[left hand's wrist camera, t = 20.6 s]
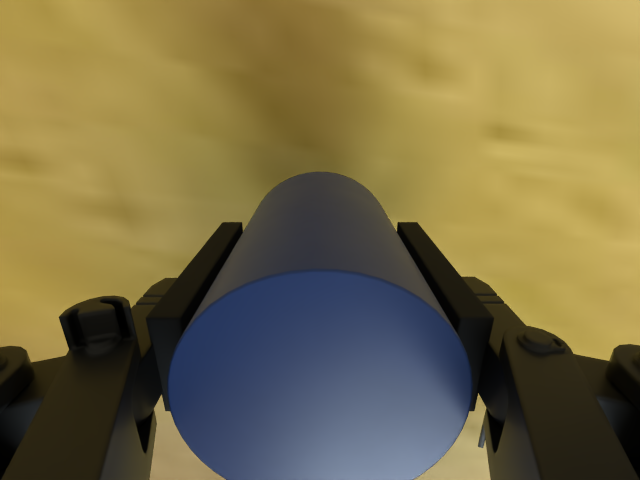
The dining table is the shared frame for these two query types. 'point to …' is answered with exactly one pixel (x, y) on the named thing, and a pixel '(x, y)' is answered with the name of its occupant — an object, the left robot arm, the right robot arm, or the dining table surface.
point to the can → (319, 348)
